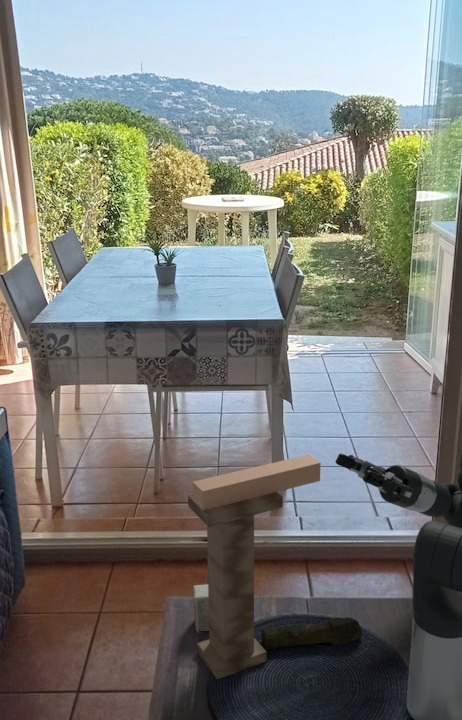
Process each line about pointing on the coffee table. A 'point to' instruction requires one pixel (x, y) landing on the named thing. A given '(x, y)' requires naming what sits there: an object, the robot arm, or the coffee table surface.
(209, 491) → the bar
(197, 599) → the small box
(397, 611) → the coffee table surface
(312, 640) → the hand tool
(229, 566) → the stand
